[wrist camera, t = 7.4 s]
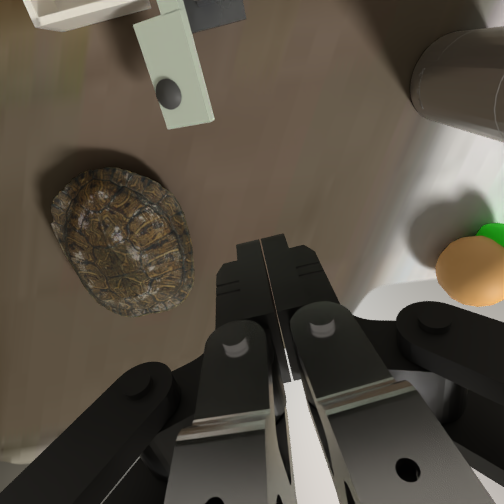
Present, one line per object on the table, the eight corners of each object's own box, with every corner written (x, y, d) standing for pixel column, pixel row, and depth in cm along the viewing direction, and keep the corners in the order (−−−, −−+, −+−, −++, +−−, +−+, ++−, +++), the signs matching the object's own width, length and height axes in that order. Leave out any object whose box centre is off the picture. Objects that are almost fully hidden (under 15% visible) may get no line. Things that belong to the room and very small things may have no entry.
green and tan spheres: (468, 294, 41) (554, 232, 40) (413, 253, 49) (484, 200, 48) (483, 338, 48) (557, 285, 47) (432, 296, 56) (495, 250, 55)
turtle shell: (156, 153, 36) (208, 318, 42) (170, 149, 44) (212, 288, 51) (5, 190, 36) (79, 349, 42) (48, 180, 45) (105, 313, 51)
